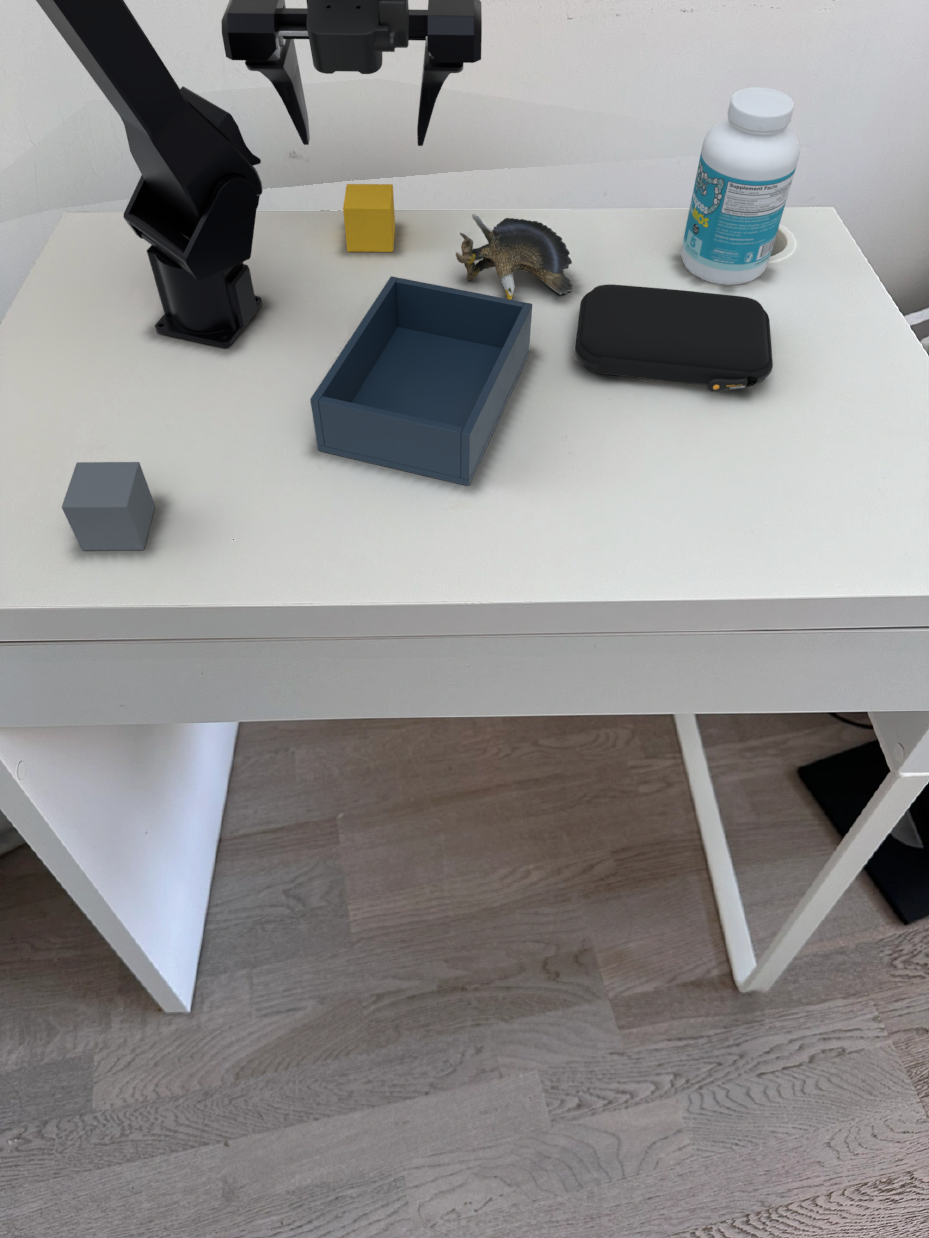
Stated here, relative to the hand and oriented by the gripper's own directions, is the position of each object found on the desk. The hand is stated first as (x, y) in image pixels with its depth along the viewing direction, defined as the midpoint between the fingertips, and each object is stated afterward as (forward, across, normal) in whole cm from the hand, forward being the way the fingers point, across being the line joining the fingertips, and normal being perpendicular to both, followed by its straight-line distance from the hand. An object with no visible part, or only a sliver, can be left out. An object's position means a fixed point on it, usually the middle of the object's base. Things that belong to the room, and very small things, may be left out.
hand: (363, 143), depth 76 cm
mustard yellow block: (+8, 0, 0) cm, 9 cm away
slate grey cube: (+9, -14, -35) cm, 38 cm away
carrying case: (+9, +24, -16) cm, 30 cm away
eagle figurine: (+9, +12, -7) cm, 17 cm away
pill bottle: (+9, +30, -3) cm, 32 cm away
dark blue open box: (+8, +6, -22) cm, 24 cm away
